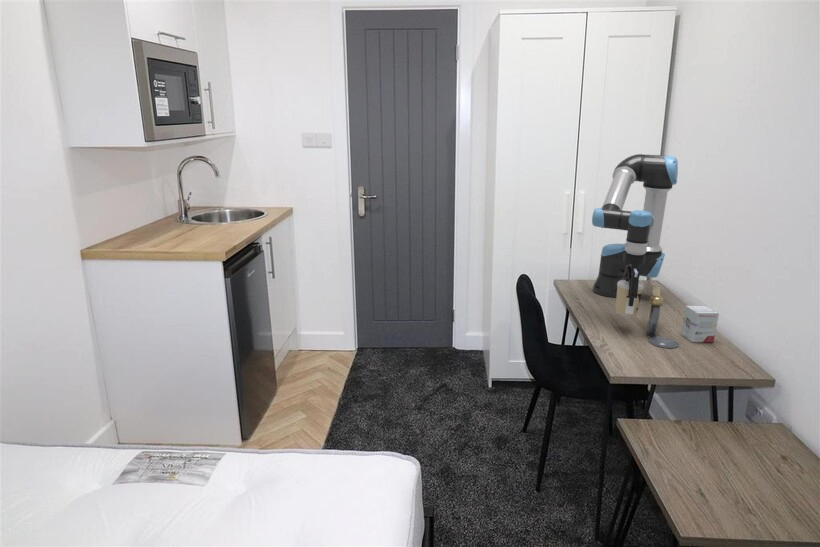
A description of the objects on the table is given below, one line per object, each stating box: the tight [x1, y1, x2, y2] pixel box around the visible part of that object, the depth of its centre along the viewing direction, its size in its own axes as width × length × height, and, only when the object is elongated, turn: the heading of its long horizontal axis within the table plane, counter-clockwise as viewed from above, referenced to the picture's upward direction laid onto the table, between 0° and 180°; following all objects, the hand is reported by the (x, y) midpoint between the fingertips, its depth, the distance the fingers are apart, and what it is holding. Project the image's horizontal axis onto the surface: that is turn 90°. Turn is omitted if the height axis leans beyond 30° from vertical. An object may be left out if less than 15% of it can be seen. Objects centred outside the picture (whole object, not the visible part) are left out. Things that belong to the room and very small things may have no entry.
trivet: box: [648, 335, 680, 350], centre depth 200 cm, size 10×10×1 cm
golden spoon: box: [649, 286, 665, 307], centre depth 209 cm, size 4×18×3 cm, turn 158°
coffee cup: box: [615, 280, 644, 317], centre depth 209 cm, size 9×9×12 cm
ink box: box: [680, 305, 720, 343], centre depth 205 cm, size 9×9×12 cm
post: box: [645, 304, 662, 338], centre depth 205 cm, size 3×3×12 cm
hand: (626, 309), depth 210 cm, fingers closed on coffee cup, 9 cm apart
